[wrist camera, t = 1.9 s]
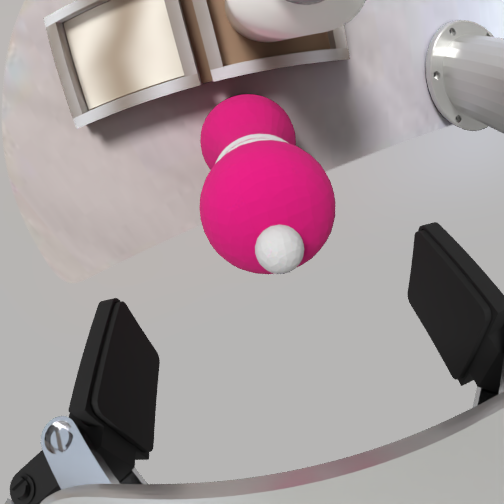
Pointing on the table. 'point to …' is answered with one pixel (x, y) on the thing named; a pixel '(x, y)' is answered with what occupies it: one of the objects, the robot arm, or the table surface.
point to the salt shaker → (288, 17)
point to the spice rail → (161, 51)
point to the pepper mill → (262, 188)
